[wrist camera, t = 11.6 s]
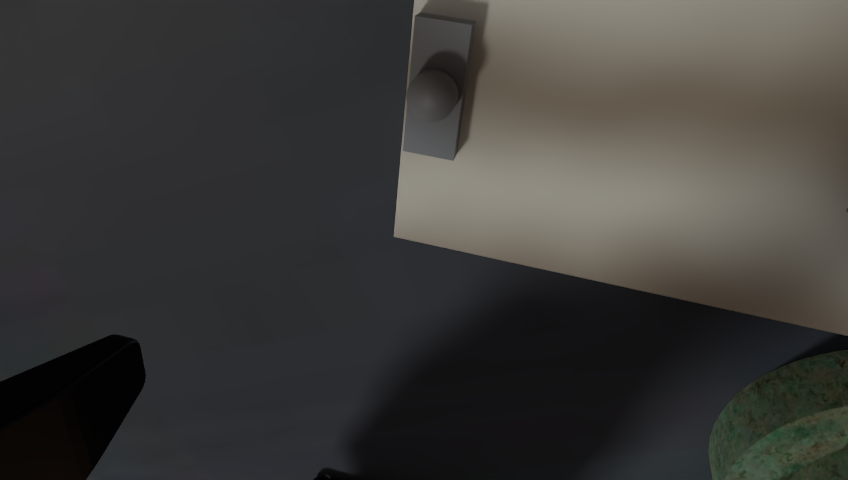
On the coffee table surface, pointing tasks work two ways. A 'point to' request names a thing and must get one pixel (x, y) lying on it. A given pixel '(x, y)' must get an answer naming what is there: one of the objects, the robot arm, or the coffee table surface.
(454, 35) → the tie-down board
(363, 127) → the coffee table surface
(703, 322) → the coffee table surface
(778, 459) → the decorative artifact
